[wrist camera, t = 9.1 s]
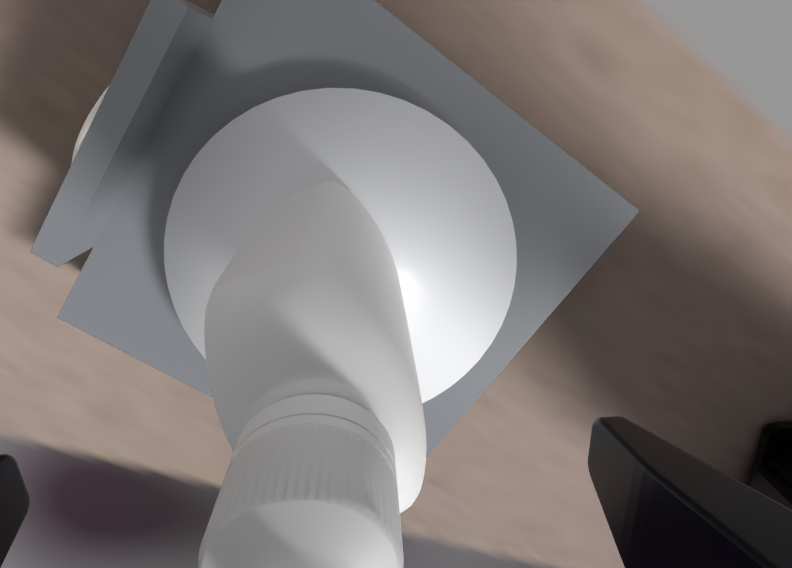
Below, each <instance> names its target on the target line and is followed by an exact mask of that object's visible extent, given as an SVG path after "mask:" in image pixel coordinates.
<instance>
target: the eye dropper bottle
mask: <svg viewBox="0 0 792 568" xmlns="http://www.w3.org/2000/svg"><path fill="white" fill-rule="evenodd" d="M204 340H205V355H206V364H207V372H208V378H209V383H210V388H211V392H212V396H213V400H214V404H215V408H216V411H217V414H218V417H219V420H220V422H221V425H222V428H223V430H224V433H225V435H226V437H227V440H228V442H229V444H230V446H231V448H232V450H233V452H234V453H233V456H232V458H231V461H230V464H229V467H228V470H227V473H226V475H225V478H224V481H223V484H222V487H221V489H220V492H219V495H218V498H217V501H216V504H215V507H214V509H213V512H212V515H211V518H210V520H209V524H208V526H207V529H206V532H205V535H204V538H203V541H202V543H201V546H200V547H201V548H200V551H199V560H198V565H199V568H403V567H404V566H403V560H404V557H403V546H402V534H401V522H400V513H401V512H403V511H404V510H406V509H407V508H409V507H410V506H411V505H412V504H413V502H414V501H415V499H416V497H417V496H418V494H419V493H420V490H421V486H422V482H423V478H424V472H425V464H426V448H427V447H426V428H425V419H424V411H423V405H422V399H421V394H420V388H419V382H418V377H417V371H416V366H415V360H414V355H413V350H412V344H411V339H410V333H409V328H408V323H407V317H406V312H405V307H404V301H403V296H402V291H401V286H400V281H399V276H398V272H397V268H396V265H395V262H394V259H393V256H392V253H391V251H390V249H389V246H388V244H387V242H386V240H385V238H384V236H383V234H382V232H381V230H380V229H379V227H378V225H377V224H376V222H375V221H374V219H373V218H372V216H371V215H370V214H369V212H368V211H367V210H366V208H365V207H364V206H363V205H362V204H361V202H360V201H359V200H358V199H357V198H356V197H355V196H354V195H353V194H352V193H351V192H350V191H349V190H348V189H347V188H346V187H345V186H343V185H341V184H339V183H337V182H335V181H330V182H322V183H319V184H316V185H313V186H310V187H307V188H305V189H302V190H299V191H297V192H294V193H291V194H289V195H286V196H284V197H282V198H281V199H279V200H278V201H277V202H276V203H274V204H273V205H272V207H271V208H270V209H269V211H268V212H267V213H266V214H265V216H264V217H263V218H262V220H261V221H260V222H259V224H258V225H257V226H256V228H255V229H254V230H253V231H252V233H251V234H250V235H249V237H248V238H247V240H246V241H245V242H244V244H243V245H242V246H241V248H240V249H239V250H238V252H237V253H236V254H235V256H234V257H233V258H232V260H231V261H230V262H229V264H228V265H227V267H226V268H225V270H224V271H223V273H222V274H221V276H220V277H219V279H218V280H217V282H216V283H215V285H214V287H213V290H212V292H211V295H210V298H209V300H208V303H207V306H206V308H205V325H204Z"/></svg>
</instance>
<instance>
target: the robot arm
mask: <svg viewBox="0 0 792 568" xmlns="http://www.w3.org/2000/svg"><path fill="white" fill-rule="evenodd" d="M588 468H589V473H590V476H591V479H592V481H593V484H594V487H595V490H596V492H597V495H598V498H599V500H600V503H601V506H602V508H603V511H604V514H605V516H606V519H607V522H608V524H609V527H610V530H611V532H612V535H613V538H614V540H615V543H616V546H617V548H618V551H619V554H620V556H621V559H622V561H623V564H624V566H625V568H792V422H779V423H772V424H769V425H768V426H766V427H765V428H764V430H763V432H762V435H761V439H760V442H759V446H758V450H757V453H756V457H755V461H754V464H753V468H752V471H751V475H750V479H749V482H748V486H747V485H745V484H743V483H742V482H740V481H738V480H736V479H734V478H732V477H731V476H729V475H727V474H725V473H723V472H722V471H720V470H718V469H716V468H714V467H712V466H711V465H709V464H707V463H705V462H703V461H702V460H700V459H698V458H696V457H694V456H692V455H691V454H689V453H687V452H685V451H683V450H682V449H680V448H678V447H676V446H674V445H672V444H671V443H669V442H667V441H665V440H663V439H662V438H660V437H658V436H656V435H654V434H652V433H651V432H649V431H647V430H645V429H643V428H642V427H640V426H638V425H636V424H634V423H632V422H631V421H629V420H627V419H625V418H623V417H602V418H597V419H596V420H595V421H594V423H593V426H592V432H591V440H590V448H589V455H588ZM29 503H30V498H29V493H28V490H27V488H26V485H25V482H24V480H23V477H22V474H21V472H20V469H19V467H18V464H17V462H16V460H15V459H14V458H13V457H12V456H11V455H7V454H0V567H1V565H2V563H3V561H4V559H5V557H6V555H7V553H8V551H9V549H10V547H11V545H12V543H13V541H14V539H15V537H16V535H17V533H18V530H19V529H20V527H21V524H22V522H23V520H24V518H25V516H26V514H27V512H28V508H29Z"/></svg>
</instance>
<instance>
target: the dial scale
mask: <svg viewBox="0 0 792 568" xmlns="http://www.w3.org/2000/svg"><path fill="white" fill-rule="evenodd" d="M330 181H335V182H337V183H339V184H341V185H343V186H345V187H346V188H347V189H348V190H349V191H350V192H351V193H352V194H353V195H354V196H355V197H356V198H357V199H358V200H359V201H360V202H361V204H362V205H363V206H364V207H365V208H366V210H367V211H368V212H369V214H370V215H371V216H372V218H373V219H374V221H375V222H376V224H377V225H378V227H379V229H380V230H381V232H382V234H383V236H384V238H385V240H386V242H387V244H388V246H389V249H390V251H391V253H392V256H393V259H394V262H395V265H396V268H397V272H398V276H399V281H400V286H401V291H402V296H403V301H404V307H405V312H406V317H407V323H408V328H409V333H410V339H411V344H412V350H413V355H414V360H415V366H416V371H417V377H418V382H419V388H420V394H421V399H422V405H423V411H424V419H425V428H426V447H427V448H426V458H427V457H428V456H429V454H430V453H431V452H432V451H433V450H434V449H435V447H436V446H437V445H438V444H439V443H440V442H441V440H442V439H443V438H444V437H445V436H446V435H447V434H448V432H449V431H450V430H451V429H452V428H453V427H454V425H455V424H456V423H457V422H458V421H459V420H460V418H461V417H462V416H463V415H464V414H465V413H466V411H467V410H468V409H469V408H470V407H471V406H472V405H473V403H474V402H475V401H476V400H477V399H478V398H479V396H480V395H481V394H482V393H483V392H484V391H485V389H486V388H487V387H488V386H489V385H490V384H491V383H492V381H493V380H494V379H495V378H496V377H497V376H498V374H499V373H500V372H501V371H502V370H503V369H504V367H505V366H506V365H507V364H508V363H509V362H510V361H511V359H512V358H513V357H514V356H515V355H516V354H517V352H518V351H519V350H520V349H521V348H522V347H523V345H524V344H525V343H526V342H527V341H528V340H529V339H530V337H531V336H532V335H533V334H534V333H535V332H536V330H537V329H538V328H539V327H540V326H541V325H542V323H543V322H544V321H545V320H546V319H547V318H548V317H549V315H550V314H551V313H552V312H553V311H554V310H555V308H556V307H557V306H558V305H559V304H560V303H561V301H562V300H563V299H564V298H565V297H566V296H567V295H568V293H569V292H570V291H571V290H572V289H573V288H574V286H575V285H576V284H577V283H578V282H579V281H580V279H581V278H582V277H583V276H584V275H585V274H586V273H587V271H588V270H589V269H590V268H591V267H592V266H593V264H594V263H595V262H596V261H597V260H598V259H599V257H600V256H601V255H602V254H603V253H604V252H605V250H606V249H607V248H608V247H609V246H610V245H611V244H612V242H613V241H614V240H615V239H616V238H617V237H618V235H619V234H620V233H621V232H622V231H623V230H624V228H625V227H626V226H627V225H628V224H629V223H630V222H631V220H632V219H633V218H634V217H635V216H636V215H637V213H638V212H639V210H638V209H637V208H636V207H634V206H633V205H632V204H631V203H629V202H628V201H627V200H626V199H624V198H623V197H622V196H620V195H619V194H618V193H617V192H615V191H614V190H613V189H612V188H610V187H609V186H608V185H607V184H605V183H604V182H603V181H602V180H600V179H599V178H598V177H597V176H595V175H594V174H593V173H592V172H590V171H589V170H588V169H587V168H585V167H584V166H583V165H581V164H580V163H579V162H578V161H576V160H575V159H574V158H573V157H571V156H570V155H569V154H568V153H566V152H565V151H564V150H563V149H561V148H560V147H559V146H558V145H556V144H555V143H554V142H553V141H551V140H550V139H549V138H548V137H546V136H545V135H544V134H542V133H541V132H540V131H539V130H537V129H536V128H535V127H534V126H532V125H531V124H530V123H529V122H527V121H526V120H525V119H524V118H522V117H521V116H520V115H519V114H517V113H516V112H515V111H514V110H512V109H511V108H510V107H509V106H507V105H506V104H505V103H503V102H502V101H501V100H500V99H498V98H497V97H496V96H495V95H493V94H492V93H491V92H490V91H488V90H487V89H486V88H485V87H483V86H482V85H481V84H480V83H478V82H477V81H476V80H475V79H473V78H472V77H471V76H470V75H468V74H467V73H466V72H464V71H463V70H462V69H461V68H459V67H458V66H457V65H456V64H454V63H453V62H452V61H451V60H449V59H448V58H447V57H446V56H444V55H443V54H442V53H441V52H439V51H438V50H437V49H436V48H434V47H433V46H432V45H431V44H429V43H428V42H427V41H425V40H424V39H423V38H422V37H420V36H419V35H418V34H417V33H415V32H414V31H413V30H412V29H410V28H409V27H408V26H407V25H405V24H404V23H403V22H402V21H400V20H399V19H398V18H397V17H395V16H394V15H393V14H392V13H390V12H389V11H388V10H386V9H385V8H384V7H383V6H381V5H380V4H379V3H378V2H376V1H375V0H222V1H221V3H220V5H219V7H218V8H217V10H216V12H215V14H214V13H212V12H210V11H208V10H206V9H204V8H201V7H199V6H197V5H195V4H193V3H191V2H189V1H187V0H150V2H149V4H148V6H147V8H146V10H145V12H144V14H143V17H142V19H141V21H140V23H139V25H138V27H137V29H136V31H135V33H134V35H133V37H132V39H131V42H130V44H129V46H128V48H127V50H126V52H125V54H124V56H123V58H122V60H121V62H120V65H119V67H118V69H117V71H116V73H115V75H114V77H113V79H112V81H111V83H110V85H109V86H108V87H107V88H106V90H105V91H104V92H103V94H102V95H101V96H100V98H99V99H98V101H97V102H96V104H95V105H94V107H93V108H92V110H91V112H90V113H89V115H88V117H87V118H86V119H85V120H84V122H83V124H82V127H81V131H80V133H79V136H78V139H77V141H76V144H75V148H74V151H73V156H72V165H71V167H70V169H69V171H68V173H67V175H66V177H65V179H64V181H63V183H62V186H61V188H60V190H59V192H58V194H57V196H56V198H55V200H54V202H53V204H52V206H51V208H50V211H49V213H48V215H47V217H46V219H45V221H44V223H43V225H42V227H41V229H40V231H39V233H38V236H37V238H36V240H35V242H34V244H33V246H32V248H31V250H30V252H31V253H32V254H34V255H36V256H38V257H40V258H42V259H44V260H45V261H47V262H49V263H51V264H53V265H55V266H56V267H59V266H61V265H62V264H64V263H66V262H68V261H69V260H71V259H73V258H75V257H76V256H78V255H80V254H82V253H83V252H85V251H87V250H89V249H90V248H92V247H93V249H92V251H91V253H90V255H89V256H88V258H87V260H86V262H85V264H84V266H83V268H82V270H81V272H80V274H79V276H78V278H77V279H76V281H75V283H74V285H73V287H72V289H71V291H70V293H69V295H68V297H67V299H66V301H65V303H64V304H63V306H62V308H61V310H60V312H59V314H58V316H57V318H59V319H61V320H63V321H64V322H66V323H68V324H70V325H72V326H74V327H76V328H78V329H80V330H82V331H84V332H86V333H88V334H90V335H92V336H94V337H96V338H97V339H99V340H101V341H103V342H105V343H107V344H109V345H111V346H113V347H115V348H117V349H119V350H121V351H123V352H125V353H127V354H129V355H131V356H132V357H134V358H136V359H138V360H140V361H142V362H144V363H146V364H148V365H150V366H152V367H154V368H156V369H158V370H160V371H162V372H164V373H165V374H167V375H169V376H171V377H173V378H175V379H177V380H179V381H181V382H183V383H185V384H187V385H189V386H191V387H193V388H195V389H197V390H199V391H200V392H202V393H204V394H206V395H208V396H210V397H212V398H213V396H212V392H211V388H210V383H209V378H208V372H207V364H206V355H205V340H204V325H205V308H206V306H207V303H208V300H209V298H210V295H211V292H212V290H213V287H214V285H215V283H216V282H217V280H218V279H219V277H220V276H221V274H222V273H223V271H224V270H225V268H226V267H227V265H228V264H229V262H230V261H231V260H232V258H233V257H234V256H235V254H236V253H237V252H238V250H239V249H240V248H241V246H242V245H243V244H244V242H245V241H246V240H247V238H248V237H249V235H250V234H251V233H252V231H253V230H254V229H255V228H256V226H257V225H258V224H259V222H260V221H261V220H262V218H263V217H264V216H265V214H266V213H267V212H268V211H269V209H270V208H271V207H272V205H273V204H274V203H276V202H277V201H278V200H279V199H281V198H282V197H284V196H286V195H289V194H291V193H294V192H297V191H299V190H302V189H305V188H307V187H310V186H313V185H316V184H319V183H322V182H330Z"/></svg>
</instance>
